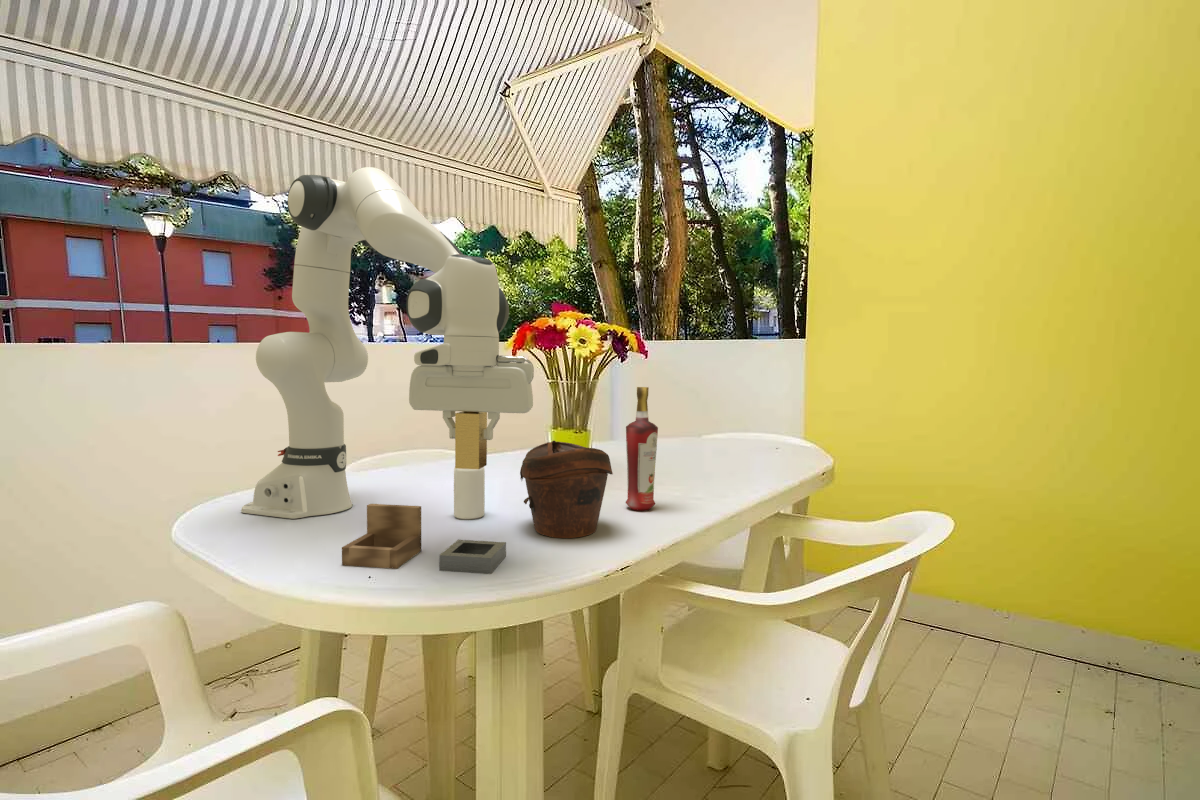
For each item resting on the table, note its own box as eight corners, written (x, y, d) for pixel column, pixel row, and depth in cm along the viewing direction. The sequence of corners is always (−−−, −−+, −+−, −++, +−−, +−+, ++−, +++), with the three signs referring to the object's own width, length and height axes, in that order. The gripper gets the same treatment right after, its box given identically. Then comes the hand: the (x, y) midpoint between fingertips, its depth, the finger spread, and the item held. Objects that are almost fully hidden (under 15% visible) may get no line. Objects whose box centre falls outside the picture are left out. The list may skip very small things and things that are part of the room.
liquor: (638, 503, 148) (640, 386, 146) (662, 508, 143) (665, 387, 141) (617, 508, 143) (620, 386, 141) (642, 514, 138) (644, 388, 136)
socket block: (439, 570, 100) (439, 555, 100) (458, 553, 108) (458, 539, 108) (490, 573, 99) (490, 558, 98) (506, 556, 107) (506, 542, 107)
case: (549, 512, 138) (549, 432, 136) (629, 526, 128) (630, 440, 126) (497, 532, 122) (497, 442, 121) (583, 550, 112) (584, 452, 111)
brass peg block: (455, 468, 101) (455, 388, 100) (463, 464, 105) (464, 387, 104) (478, 469, 100) (479, 389, 99) (486, 465, 104) (487, 388, 103)
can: (488, 513, 136) (488, 459, 136) (479, 520, 130) (479, 464, 129) (459, 512, 137) (459, 458, 136) (449, 519, 131) (449, 463, 130)
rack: (342, 565, 101) (341, 517, 101) (370, 547, 111) (370, 503, 110) (397, 568, 100) (396, 520, 100) (421, 550, 110) (421, 506, 109)
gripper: (538, 356, 103) (537, 438, 104) (420, 353, 106) (421, 434, 107) (528, 356, 97) (528, 444, 98) (404, 353, 99) (404, 439, 100)
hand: (471, 439), depth 102 cm, fingers closed on brass peg block, 4 cm apart
